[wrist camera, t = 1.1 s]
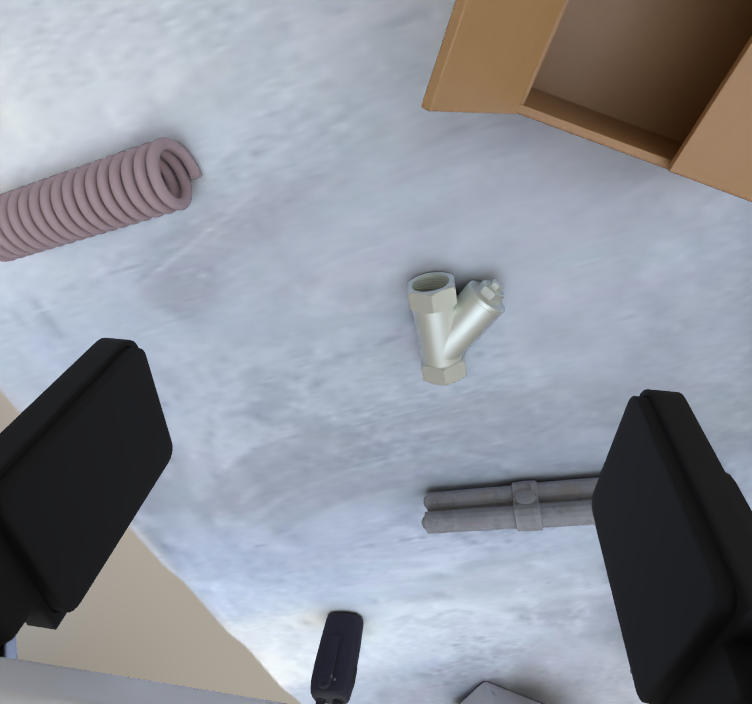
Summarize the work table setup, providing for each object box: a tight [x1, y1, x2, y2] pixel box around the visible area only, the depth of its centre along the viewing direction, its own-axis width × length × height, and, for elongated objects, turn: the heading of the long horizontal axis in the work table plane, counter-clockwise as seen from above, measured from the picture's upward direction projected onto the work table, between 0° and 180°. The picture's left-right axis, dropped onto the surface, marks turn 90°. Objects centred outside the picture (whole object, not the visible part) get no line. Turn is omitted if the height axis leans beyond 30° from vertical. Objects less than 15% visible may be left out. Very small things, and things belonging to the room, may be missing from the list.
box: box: [516, 0, 752, 202], centre depth 24 cm, size 15×13×10 cm
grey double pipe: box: [421, 477, 599, 533], centre depth 47 cm, size 26×3×5 cm, turn 107°
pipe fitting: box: [407, 272, 505, 385], centre depth 39 cm, size 8×4×7 cm
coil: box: [0, 138, 201, 262], centre depth 37 cm, size 5×5×18 cm
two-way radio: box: [311, 613, 363, 704], centre depth 62 cm, size 6×4×15 cm
